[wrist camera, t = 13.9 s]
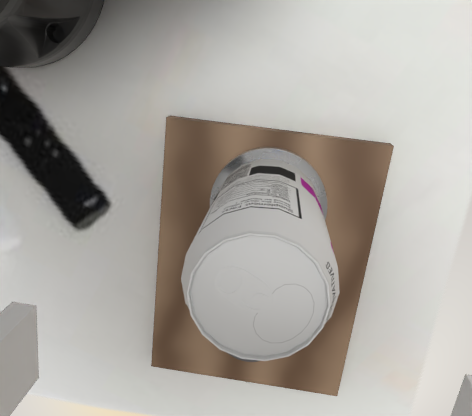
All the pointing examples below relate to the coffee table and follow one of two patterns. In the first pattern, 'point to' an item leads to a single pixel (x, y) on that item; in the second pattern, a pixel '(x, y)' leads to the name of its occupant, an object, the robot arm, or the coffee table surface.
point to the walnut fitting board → (195, 209)
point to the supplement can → (262, 264)
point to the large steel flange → (273, 154)
